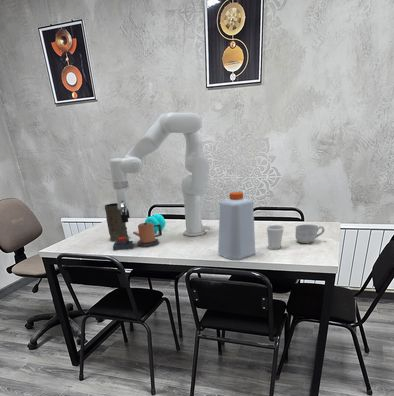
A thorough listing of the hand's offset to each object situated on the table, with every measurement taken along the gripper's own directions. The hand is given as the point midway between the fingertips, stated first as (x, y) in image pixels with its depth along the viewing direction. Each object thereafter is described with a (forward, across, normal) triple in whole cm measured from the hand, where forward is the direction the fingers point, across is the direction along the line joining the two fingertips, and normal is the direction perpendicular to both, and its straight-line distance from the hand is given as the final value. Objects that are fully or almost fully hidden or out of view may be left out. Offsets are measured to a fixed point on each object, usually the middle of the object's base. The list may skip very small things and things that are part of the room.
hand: (126, 220), depth 182 cm
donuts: (+14, -26, +15) cm, 33 cm away
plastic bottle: (+14, +30, +54) cm, 63 cm away
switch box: (+14, +1, -3) cm, 15 cm away
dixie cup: (+13, +26, +74) cm, 79 cm away
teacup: (+13, +22, +93) cm, 96 cm away
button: (+11, +1, -3) cm, 11 cm away
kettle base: (+14, -1, +10) cm, 17 cm away
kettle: (+12, -1, +11) cm, 16 cm away
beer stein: (+14, -20, -6) cm, 25 cm away
